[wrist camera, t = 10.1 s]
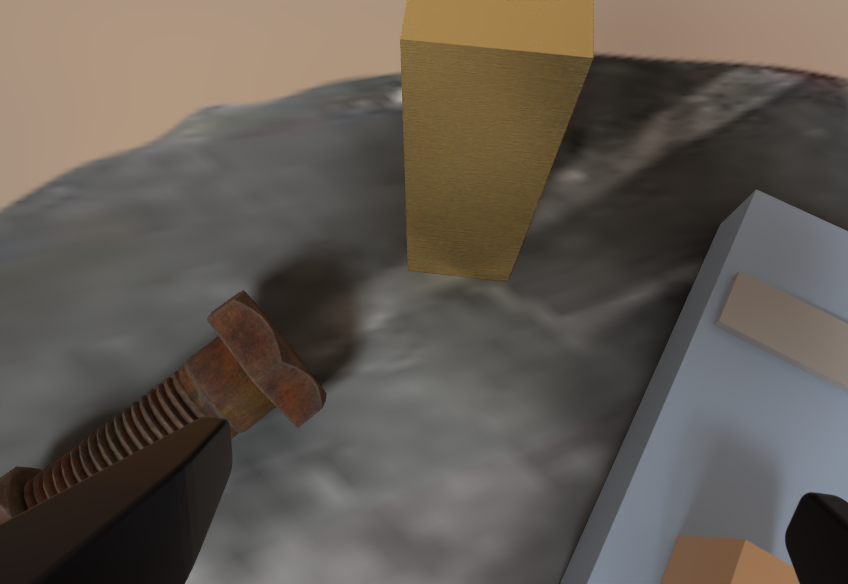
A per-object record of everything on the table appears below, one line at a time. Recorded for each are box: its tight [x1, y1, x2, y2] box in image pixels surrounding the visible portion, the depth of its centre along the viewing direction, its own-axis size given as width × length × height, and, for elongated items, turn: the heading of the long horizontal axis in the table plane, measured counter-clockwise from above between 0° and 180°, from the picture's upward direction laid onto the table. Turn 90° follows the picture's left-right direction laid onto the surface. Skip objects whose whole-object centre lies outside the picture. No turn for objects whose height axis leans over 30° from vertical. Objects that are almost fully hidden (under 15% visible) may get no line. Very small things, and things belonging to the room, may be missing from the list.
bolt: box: [0, 291, 326, 524], centre depth 20 cm, size 6×5×15 cm
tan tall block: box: [400, 0, 593, 281], centre depth 20 cm, size 4×4×13 cm
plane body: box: [560, 190, 848, 584], centre depth 19 cm, size 18×7×7 cm, turn 149°
